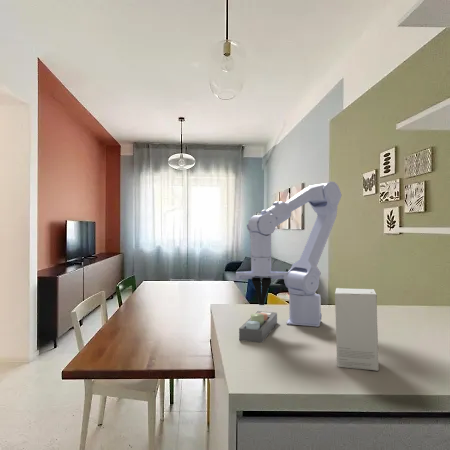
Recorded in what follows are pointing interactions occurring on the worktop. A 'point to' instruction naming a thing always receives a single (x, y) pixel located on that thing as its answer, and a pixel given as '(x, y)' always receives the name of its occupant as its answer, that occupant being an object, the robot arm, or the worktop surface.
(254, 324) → the blue button
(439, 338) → the worktop surface
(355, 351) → the skincare box
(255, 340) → the console
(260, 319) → the sage button
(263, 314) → the terracotta button
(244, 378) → the worktop surface
